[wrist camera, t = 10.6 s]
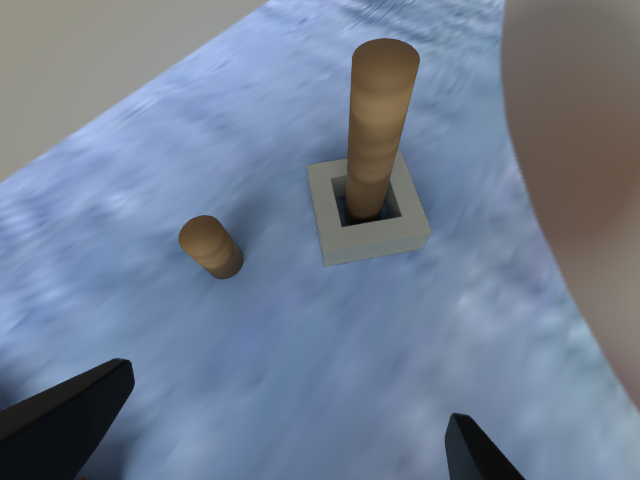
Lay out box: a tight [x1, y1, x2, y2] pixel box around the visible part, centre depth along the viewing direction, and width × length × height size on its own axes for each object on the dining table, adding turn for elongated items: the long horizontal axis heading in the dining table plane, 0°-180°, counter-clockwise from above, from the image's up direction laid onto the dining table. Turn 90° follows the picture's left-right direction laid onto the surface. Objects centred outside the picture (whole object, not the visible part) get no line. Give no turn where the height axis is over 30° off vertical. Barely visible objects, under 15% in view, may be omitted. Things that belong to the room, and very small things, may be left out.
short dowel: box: [179, 215, 243, 279], centre depth 23 cm, size 3×3×5 cm
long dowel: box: [345, 38, 420, 226], centre depth 20 cm, size 3×3×14 cm
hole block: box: [306, 149, 432, 267], centre depth 25 cm, size 8×8×3 cm
